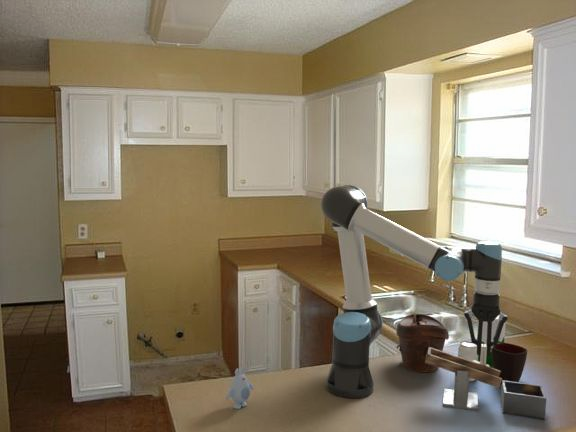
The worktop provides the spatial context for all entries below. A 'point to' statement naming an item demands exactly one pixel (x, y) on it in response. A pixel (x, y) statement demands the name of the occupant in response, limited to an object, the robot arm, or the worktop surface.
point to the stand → (461, 393)
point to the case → (420, 340)
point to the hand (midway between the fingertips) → (482, 365)
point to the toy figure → (239, 389)
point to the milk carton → (484, 338)
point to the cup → (509, 361)
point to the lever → (464, 366)
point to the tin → (523, 399)
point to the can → (468, 352)
